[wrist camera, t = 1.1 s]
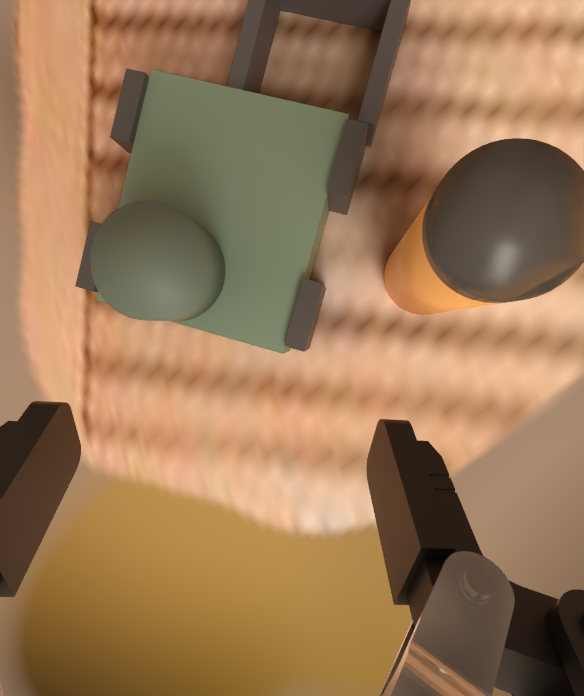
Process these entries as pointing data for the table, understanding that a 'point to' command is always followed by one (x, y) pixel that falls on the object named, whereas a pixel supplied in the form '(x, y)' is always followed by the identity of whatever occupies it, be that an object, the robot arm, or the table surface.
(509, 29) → the table surface
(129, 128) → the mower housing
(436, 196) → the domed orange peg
